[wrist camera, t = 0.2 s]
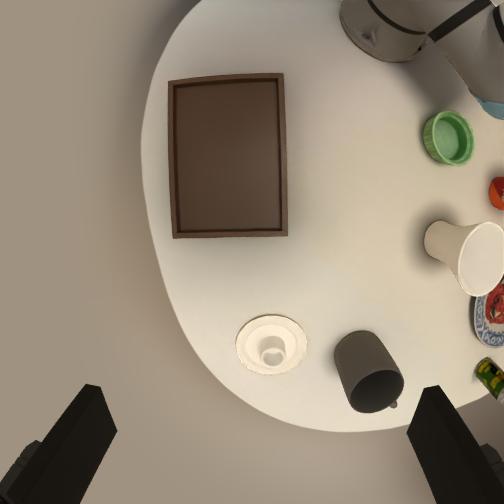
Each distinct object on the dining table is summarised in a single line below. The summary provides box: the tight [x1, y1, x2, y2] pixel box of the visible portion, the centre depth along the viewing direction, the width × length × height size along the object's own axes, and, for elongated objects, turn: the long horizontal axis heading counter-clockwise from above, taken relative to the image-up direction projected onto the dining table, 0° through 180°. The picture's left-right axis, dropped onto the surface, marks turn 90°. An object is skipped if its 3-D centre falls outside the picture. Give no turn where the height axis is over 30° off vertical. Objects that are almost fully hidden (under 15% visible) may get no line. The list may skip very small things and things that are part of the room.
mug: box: [335, 331, 404, 413], centre depth 45 cm, size 14×9×12 cm
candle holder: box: [236, 316, 307, 375], centre depth 48 cm, size 12×12×4 cm
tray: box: [168, 73, 288, 239], centre depth 42 cm, size 24×17×3 cm
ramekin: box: [423, 110, 475, 166], centre depth 39 cm, size 9×9×4 cm
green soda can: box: [475, 358, 504, 404], centre depth 46 cm, size 5×5×12 cm
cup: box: [424, 221, 504, 297], centre depth 38 cm, size 10×10×14 cm
